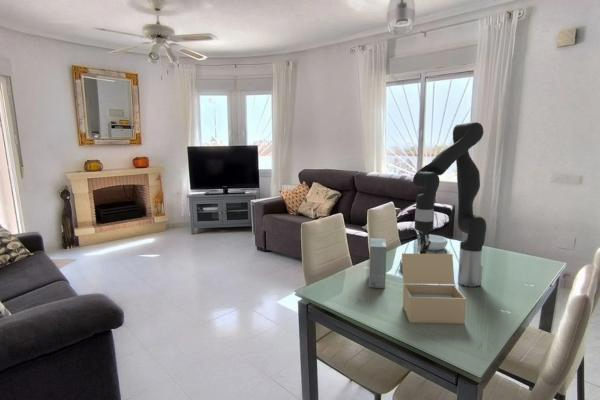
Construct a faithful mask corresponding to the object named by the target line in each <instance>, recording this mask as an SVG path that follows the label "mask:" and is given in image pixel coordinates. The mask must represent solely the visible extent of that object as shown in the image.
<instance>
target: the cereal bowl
mask: <svg viewBox="0 0 600 400" xmlns="http://www.w3.org/2000/svg"><path fill="white" fill-rule="evenodd" d="M429 241H430V242H431V243H430V246H429V248H428V250H427V251H432V252H435V251H436V252H437V251H439V250H440V251H441V250H443V249H445V248H446V247H447V245H448V239H447V238H446V237H444V236H441V235H437V234H436V235H435V234H429Z"/></svg>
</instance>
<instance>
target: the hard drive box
mask: <svg viewBox="0 0 600 400" xmlns="http://www.w3.org/2000/svg"><path fill="white" fill-rule="evenodd" d="M368 267H369V268H368V287H369V288H377V289H386V279H387V270H386V269H387V242H386V238H373V237H371V238H369V265H368Z"/></svg>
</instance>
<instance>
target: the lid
mask: <svg viewBox="0 0 600 400" xmlns="http://www.w3.org/2000/svg"><path fill="white" fill-rule="evenodd" d="M453 256H454V255H453V253H426V254H420V253H401V259H402V268H403V272H402V284H411V285H455V272H454V270H455V269H454V260H453V259H454V258H453Z"/></svg>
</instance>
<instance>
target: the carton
mask: <svg viewBox="0 0 600 400" xmlns="http://www.w3.org/2000/svg"><path fill="white" fill-rule="evenodd" d="M402 292H403V293H402V309H403V311H404V313H405V316H406V318H407V320H408V323H419V324H444V325H445V324H447V325H448V324H449V325H451V324H452V325H465V323H466V322H465V320H466V311H467V310H466V307H467V298H466V297H465V296H464V294H463V293H462V292H461V291H460V290H459V288H458V287H456V285H455V284H409V283H403V288H402Z"/></svg>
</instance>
